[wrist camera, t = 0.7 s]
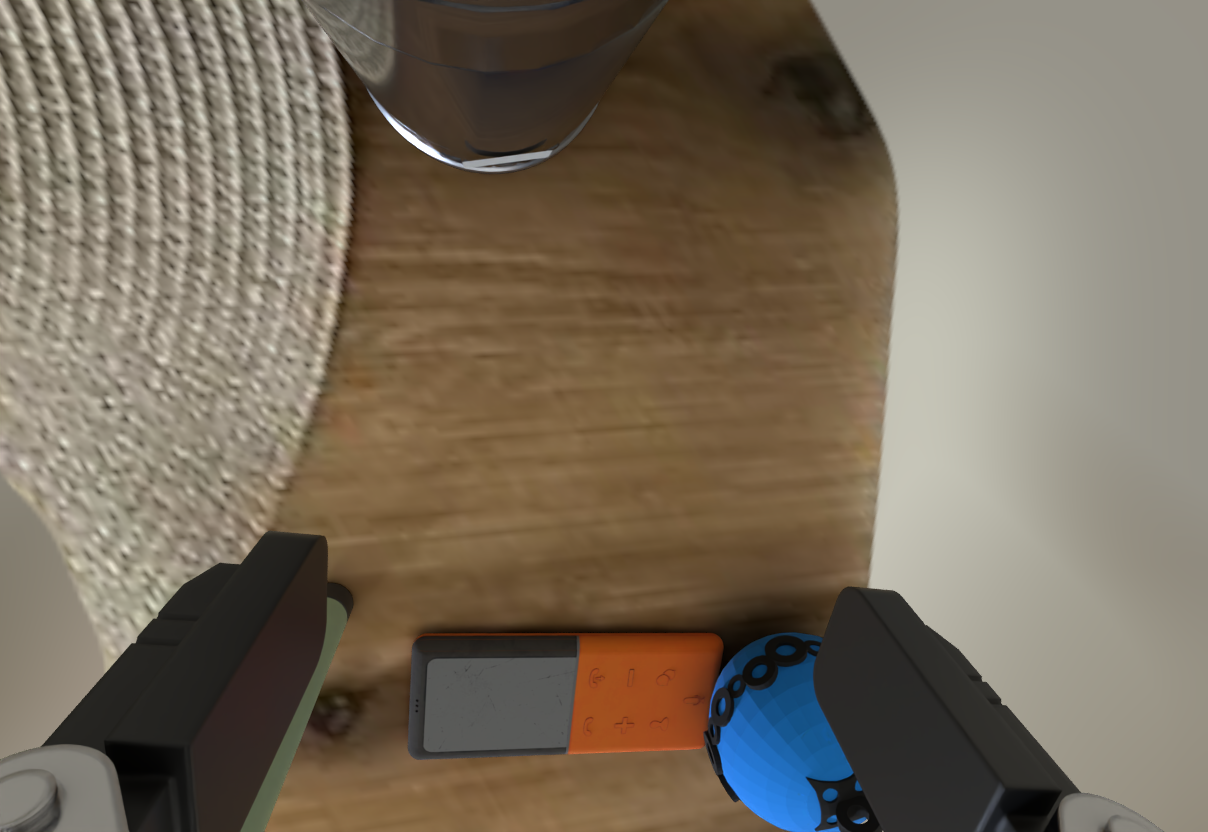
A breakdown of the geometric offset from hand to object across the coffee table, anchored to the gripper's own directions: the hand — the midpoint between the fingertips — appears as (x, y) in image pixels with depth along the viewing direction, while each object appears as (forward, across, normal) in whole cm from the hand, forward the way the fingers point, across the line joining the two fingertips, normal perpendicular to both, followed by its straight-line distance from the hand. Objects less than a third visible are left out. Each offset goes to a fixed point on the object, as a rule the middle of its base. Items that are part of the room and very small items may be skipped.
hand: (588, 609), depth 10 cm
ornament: (+17, -13, +16) cm, 27 cm away
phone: (+16, -3, +17) cm, 24 cm away
